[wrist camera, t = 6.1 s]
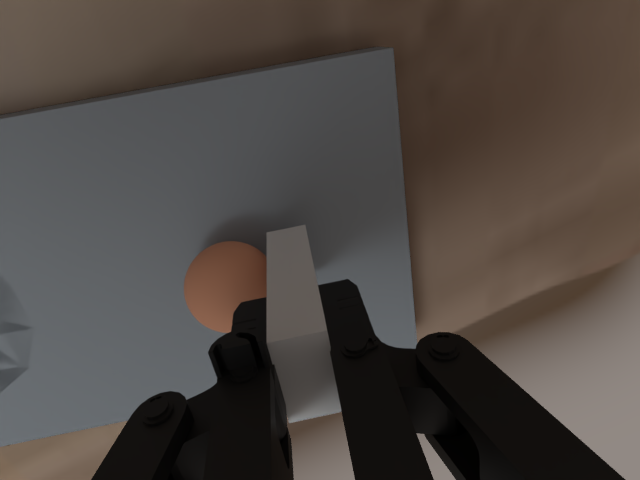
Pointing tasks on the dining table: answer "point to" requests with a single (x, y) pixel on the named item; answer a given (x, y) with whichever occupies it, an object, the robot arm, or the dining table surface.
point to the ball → (224, 282)
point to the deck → (185, 225)
